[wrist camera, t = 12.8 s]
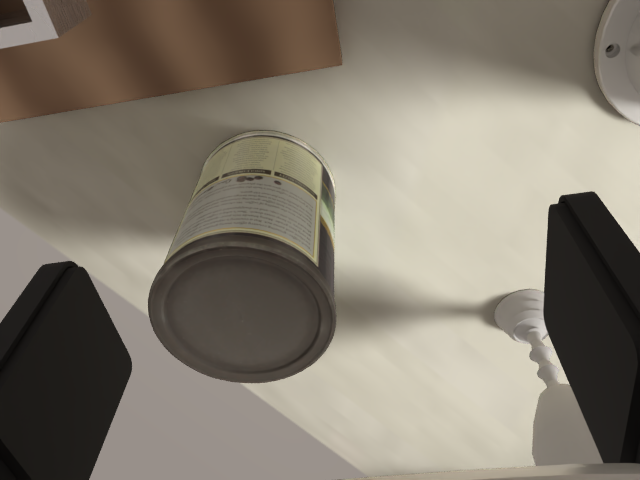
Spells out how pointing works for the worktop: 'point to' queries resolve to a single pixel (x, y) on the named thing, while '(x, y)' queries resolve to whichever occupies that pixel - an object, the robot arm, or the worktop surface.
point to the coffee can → (251, 263)
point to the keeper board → (163, 51)
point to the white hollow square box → (41, 21)
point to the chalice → (557, 399)
